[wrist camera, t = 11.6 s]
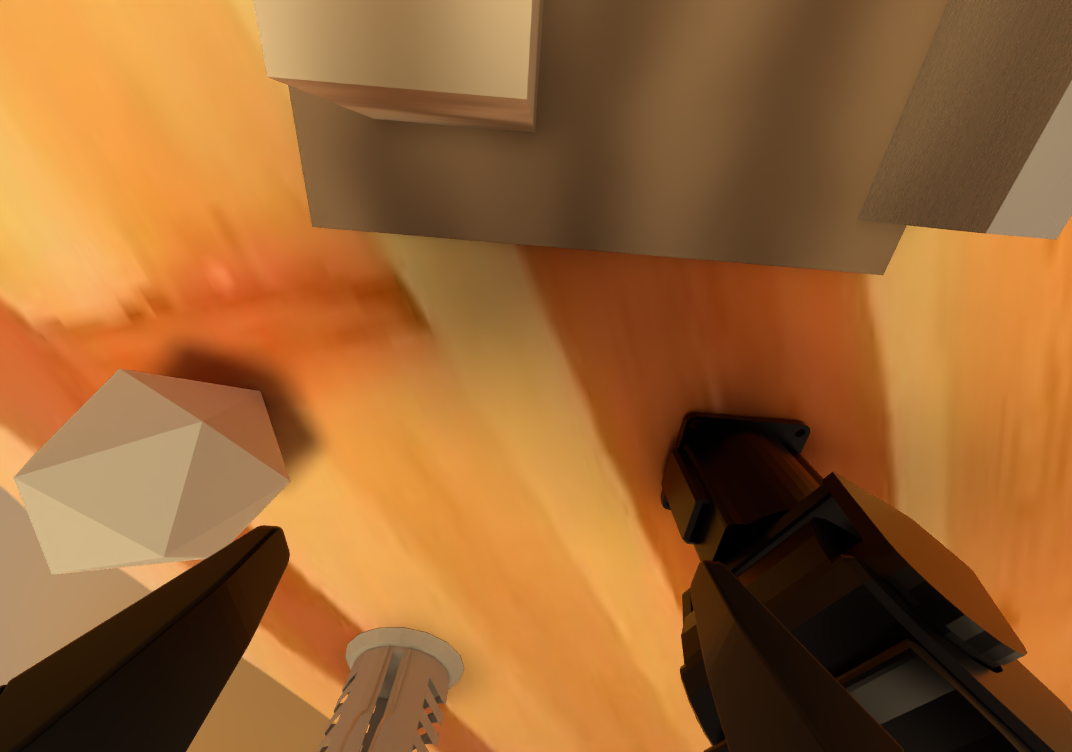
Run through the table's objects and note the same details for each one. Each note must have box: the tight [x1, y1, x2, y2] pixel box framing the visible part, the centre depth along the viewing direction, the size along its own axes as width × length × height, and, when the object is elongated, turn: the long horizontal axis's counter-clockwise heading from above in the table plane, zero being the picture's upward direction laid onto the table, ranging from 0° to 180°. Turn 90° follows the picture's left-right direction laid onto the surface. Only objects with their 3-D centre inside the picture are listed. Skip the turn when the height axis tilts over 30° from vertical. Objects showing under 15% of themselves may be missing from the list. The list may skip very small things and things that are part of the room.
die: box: [14, 369, 290, 575], centre depth 18 cm, size 8×9×10 cm
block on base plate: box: [288, 0, 1072, 275], centre depth 11 cm, size 24×14×6 cm, turn 86°
